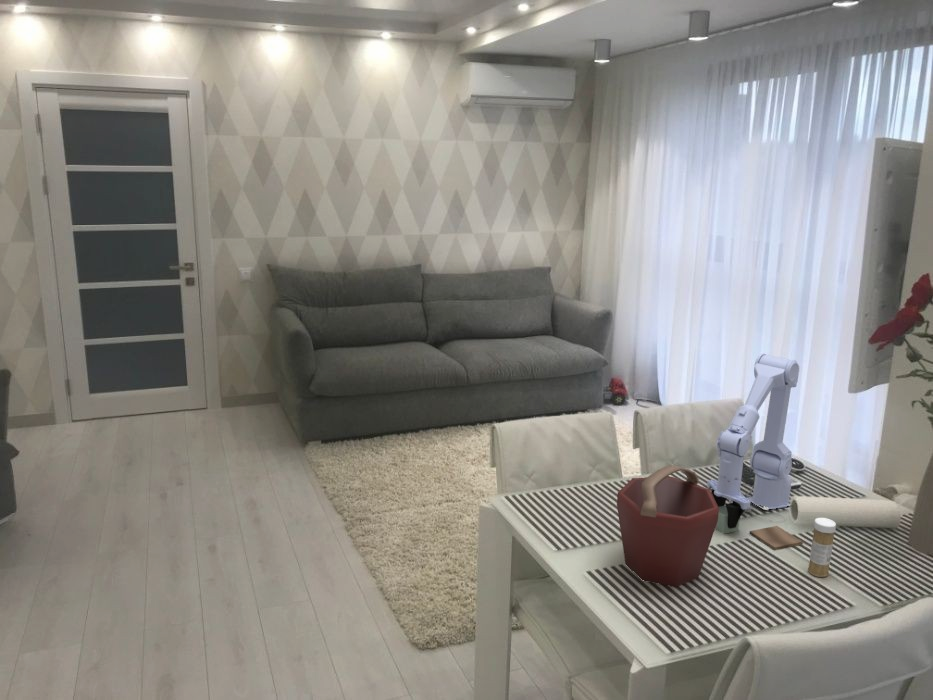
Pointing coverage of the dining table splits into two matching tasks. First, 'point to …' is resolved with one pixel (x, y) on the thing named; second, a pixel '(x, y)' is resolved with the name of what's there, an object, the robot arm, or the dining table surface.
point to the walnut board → (776, 537)
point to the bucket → (666, 526)
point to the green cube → (724, 521)
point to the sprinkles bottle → (821, 547)
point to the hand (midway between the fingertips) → (724, 522)
